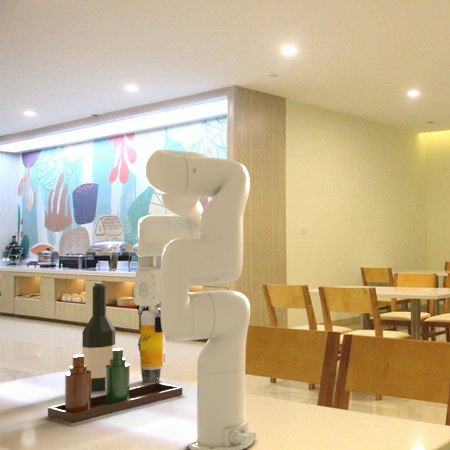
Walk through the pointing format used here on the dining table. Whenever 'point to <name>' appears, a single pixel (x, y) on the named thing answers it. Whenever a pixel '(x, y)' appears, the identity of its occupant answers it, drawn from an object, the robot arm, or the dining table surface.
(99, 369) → the wine bottle
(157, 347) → the beer can
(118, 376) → the green bottle
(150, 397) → the tray
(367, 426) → the dining table surface
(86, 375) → the amber bottle
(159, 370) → the beverage cup
